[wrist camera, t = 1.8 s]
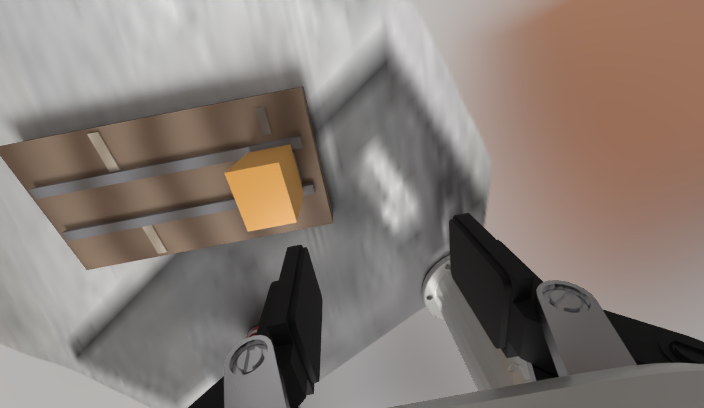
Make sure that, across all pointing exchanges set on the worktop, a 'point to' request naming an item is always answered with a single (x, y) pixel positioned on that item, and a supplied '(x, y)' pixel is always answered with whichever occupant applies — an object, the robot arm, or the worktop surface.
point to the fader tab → (267, 187)
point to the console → (166, 177)
